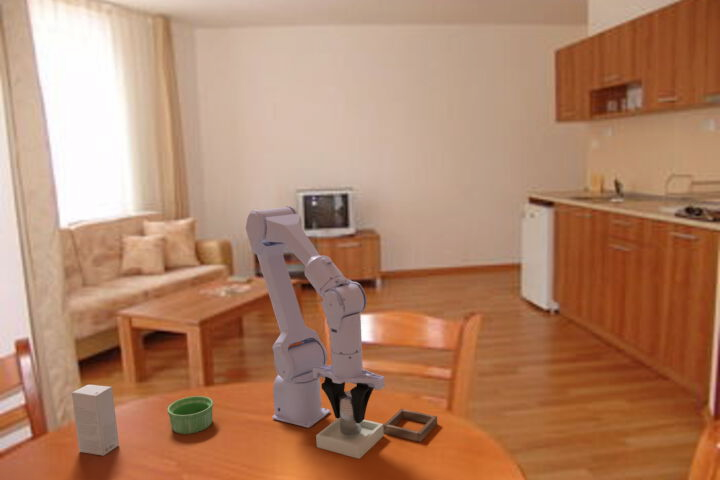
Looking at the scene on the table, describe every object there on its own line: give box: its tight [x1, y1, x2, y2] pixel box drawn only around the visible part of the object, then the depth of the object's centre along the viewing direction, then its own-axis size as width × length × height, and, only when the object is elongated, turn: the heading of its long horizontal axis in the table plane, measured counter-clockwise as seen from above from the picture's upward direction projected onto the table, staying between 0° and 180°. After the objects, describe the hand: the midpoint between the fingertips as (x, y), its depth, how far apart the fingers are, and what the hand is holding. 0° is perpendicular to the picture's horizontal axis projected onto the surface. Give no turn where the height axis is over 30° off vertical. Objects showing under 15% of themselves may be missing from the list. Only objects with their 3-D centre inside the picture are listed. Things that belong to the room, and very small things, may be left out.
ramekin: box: [167, 395, 214, 435], centre depth 116 cm, size 9×9×4 cm
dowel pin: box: [339, 390, 362, 436], centre depth 106 cm, size 4×4×7 cm
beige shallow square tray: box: [315, 418, 385, 460], centre depth 106 cm, size 9×9×2 cm
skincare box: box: [71, 384, 120, 456], centre depth 107 cm, size 6×4×12 cm
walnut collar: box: [383, 408, 438, 443], centre depth 111 cm, size 8×8×2 cm
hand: (349, 418), depth 106 cm, fingers closed on dowel pin, 4 cm apart
